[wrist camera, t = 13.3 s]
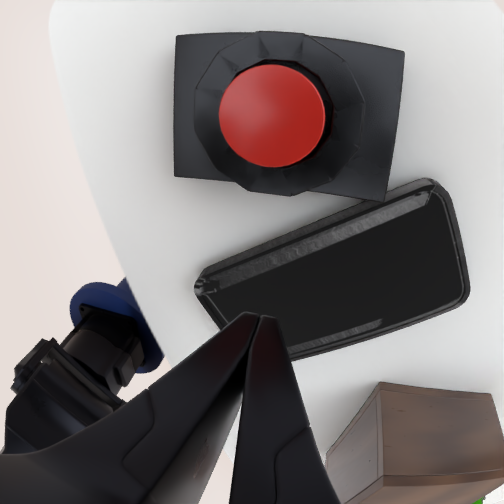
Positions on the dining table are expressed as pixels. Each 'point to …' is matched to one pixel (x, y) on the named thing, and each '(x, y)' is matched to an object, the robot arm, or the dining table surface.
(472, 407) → the chest
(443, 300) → the phone
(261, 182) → the button base
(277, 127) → the button
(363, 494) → the lid
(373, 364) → the dining table surface
